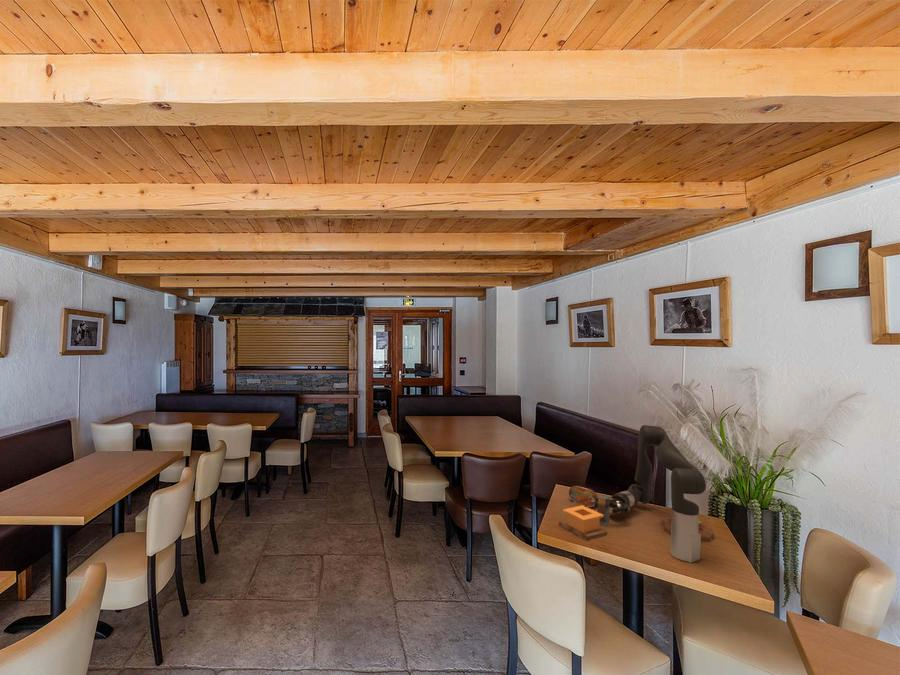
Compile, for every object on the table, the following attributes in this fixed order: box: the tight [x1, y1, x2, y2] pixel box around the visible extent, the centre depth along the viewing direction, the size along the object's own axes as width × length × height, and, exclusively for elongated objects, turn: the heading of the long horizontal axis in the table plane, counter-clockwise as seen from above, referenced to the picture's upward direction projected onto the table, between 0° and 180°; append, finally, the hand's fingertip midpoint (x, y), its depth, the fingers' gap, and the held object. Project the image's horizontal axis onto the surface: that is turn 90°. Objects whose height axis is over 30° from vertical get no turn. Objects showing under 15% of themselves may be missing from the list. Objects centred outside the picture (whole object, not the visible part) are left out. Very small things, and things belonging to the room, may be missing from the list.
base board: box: [558, 519, 608, 541], centre depth 185 cm, size 16×12×2 cm
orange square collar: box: [562, 505, 604, 533], centre depth 185 cm, size 12×12×6 cm
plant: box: [661, 516, 715, 543], centre depth 188 cm, size 20×20×11 cm
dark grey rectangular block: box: [597, 495, 611, 527], centre depth 192 cm, size 4×4×12 cm
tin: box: [568, 485, 598, 509], centre depth 215 cm, size 15×3×8 cm, turn 40°
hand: (604, 508), depth 192 cm, fingers open, 8 cm apart
